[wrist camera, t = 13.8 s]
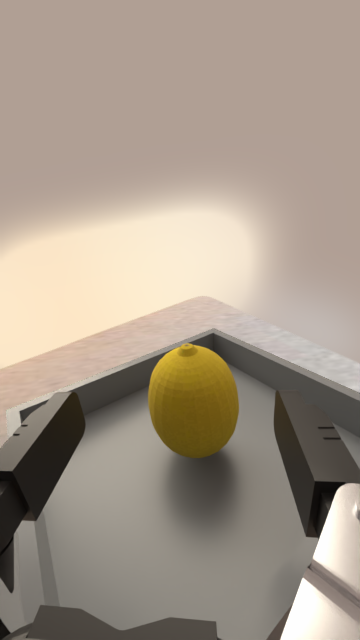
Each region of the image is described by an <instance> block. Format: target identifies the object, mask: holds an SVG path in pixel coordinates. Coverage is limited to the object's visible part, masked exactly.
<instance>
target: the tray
mask: <svg viewBox="0 0 360 640" xmlns="http://www.w3.org/2000/svg"><path fill="white" fill-rule="evenodd" d="M186 343H189V344H192V345H196V346H201V347H205V348H207V349H209V350H211V351H213V352H215V353H216V354H217V355H219V356H220V357H221V358H222V359H223V360H224V361H225V362H226V364H227V365H228V367H229V369H230V371H231V373H232V375H233V377H234V380H235V383H236V387H237V392H238V400H239V415H238V420H237V424H236V428H235V431H234V433H233V435H232V436H231V438H230V440H229V441H228V443H227V444H226V445H225V446H224V447H223V448H222V449H220V450H219V451H218V452H216V453H214V454H212V455H210V456H207V457H203V458H189V457H184V456H181V455H179V454H177V453H175V452H173V451H172V450H171V449H169V448H168V447H167V446H166V445H165V444H164V443H163V442H162V440H161V439H160V437H159V436H158V434H157V432H156V431H155V429H154V427H153V424H152V421H151V416H150V411H149V405H148V391H149V384H150V379H151V375H152V372H153V370H154V368H155V367H156V365H157V363H158V362H159V361H160V359H162V358H163V357H164V356H165V355H166V354H167V353H168V352H170V351H172V350H173V349H175V348H178V347H181V346H182V345H183V344H186ZM276 390H298V391H299V392H300V394H301V396H302V398H303V400H304V402H305V404H315V405H317V406H318V407H319V408H320V409H321V410H322V411H324V412H325V413H326V414H327V415H328V417H329V418H330V420H331V422H332V423H333V425H334V427H335V430H337V432H338V433H339V435H340V437H341V440H343V442H344V443H345V445H346V447H347V448H348V450H349V452H350V454H351V455H352V457H353V459H354V460H355V462H356V464H357V465H358V467H359V469H360V393H359V392H356V391H354V390H352V389H350V388H347V387H345V386H343V385H340V384H338V383H336V382H334V381H331V380H329V379H327V378H325V377H322V376H320V375H318V374H316V373H313V372H311V371H309V370H307V369H304V368H302V367H300V366H298V365H295V364H293V363H291V362H289V361H286V360H284V359H282V358H280V357H277V356H275V355H273V354H271V353H268V352H266V351H264V350H262V349H259V348H257V347H255V346H253V345H250V344H248V343H246V342H244V341H241V340H239V339H237V338H235V337H232V336H230V335H228V334H225V333H223V332H221V331H219V330H216V329H214V328H213V329H211V330H208V331H206V332H203V333H201V334H198V335H196V336H193V337H191V338H188V339H185V340H183V341H180V342H178V343H175V344H173V345H170V346H168V347H165V348H163V349H160V350H158V351H155V352H152V353H150V354H147V355H145V356H142V357H140V358H137V359H135V360H132V361H130V362H127V363H125V364H122V365H119V366H117V367H114V368H112V369H109V370H107V371H104V372H102V373H99V374H97V375H94V376H91V377H89V378H86V379H84V380H81V381H79V382H76V383H74V384H71V385H69V386H66V387H64V388H61V389H58V390H56V391H53V392H51V393H48V394H46V395H43V396H41V397H38V398H36V399H33V400H30V401H28V402H25V403H23V404H20V405H18V406H15V407H13V408H10V409H8V410H6V419H7V436H8V439H9V438H10V437H11V436H13V433H14V432H15V431H16V430H17V429H18V427H21V424H22V423H23V422H24V420H25V419H26V418H27V417H28V416H29V415H30V414H31V413H32V412H34V411H35V410H36V409H38V408H39V407H41V406H42V405H45V404H46V403H47V402H48V400H49V399H50V398H51V397H52V396H53V395H54V394H55V393H56V392H76V393H77V395H78V397H79V401H80V404H81V408H82V411H83V414H84V418H85V423H86V426H85V432H84V435H83V437H82V439H81V441H80V443H79V445H78V446H77V448H76V450H75V452H74V454H73V455H72V457H71V459H70V461H69V463H68V465H67V466H66V468H65V470H64V472H63V474H62V475H61V477H60V479H59V481H58V483H57V485H56V486H55V488H54V490H53V492H52V494H51V495H50V497H49V499H48V501H47V503H46V505H45V506H44V508H43V510H42V512H41V514H40V516H39V517H38V519H37V521H22V522H21V523H20V525H19V527H18V528H17V532H18V535H19V569H20V599H21V606H22V610H23V613H24V617H25V621H26V625H27V624H30V623H32V622H33V621H34V619H35V616H36V614H37V612H38V609H39V607H40V605H48V606H58V607H69V608H80V609H82V610H84V611H86V612H88V613H89V614H91V615H93V616H95V617H96V618H98V619H100V620H102V621H104V622H105V623H107V624H109V625H111V626H112V627H114V628H116V629H118V630H127V629H131V628H134V627H138V626H141V625H145V624H148V623H152V622H155V621H158V620H162V619H165V618H169V617H174V618H185V619H195V620H206V621H216V625H217V637H218V638H220V639H222V640H280V639H281V636H282V633H283V631H284V628H285V625H286V622H287V620H288V617H289V614H290V611H291V609H292V606H293V603H294V600H295V598H296V595H297V592H298V589H299V587H300V584H301V581H302V578H303V576H304V573H305V571H306V569H307V567H308V565H310V563H311V561H312V559H313V556H314V553H315V550H316V547H317V545H318V542H319V540H318V538H312V537H306V536H305V533H304V529H303V526H302V523H301V520H300V516H299V513H298V510H297V506H296V503H295V500H294V497H293V493H292V490H291V487H290V484H289V480H288V477H287V474H286V471H285V467H284V464H283V461H282V458H281V454H280V451H279V448H278V444H277V441H276V438H275V433H274V407H275V393H276Z"/></svg>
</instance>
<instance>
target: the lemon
mask: <svg viewBox="0 0 360 640" xmlns="http://www.w3.org/2000/svg"><path fill="white" fill-rule="evenodd" d="M148 405H149V411H150V416H151V421H152V424H153V427H154V429H155V431H156V432H157V434H158V436H159V437H160V439H161V440H162V442H163V443H164V444H165V445H166V446H167V447H168V448H169V449H171V450H172V451H173V452H175V453H177V454H179V455H181V456H184V457H189V458H203V457H207V456H210V455H212V454H214V453H216V452H218V451H219V450H220V449H222V448H223V447H224V446H225V445H226V444H227V443H228V441H229V440H230V438H231V436H232V435H233V433H234V431H235V428H236V424H237V420H238V415H239V400H238V392H237V387H236V383H235V380H234V377H233V375H232V373H231V371H230V369H229V367H228V365H227V364H226V362H225V361H224V360H223V359H222V358H221V357H220V356H219V355H217V354H216V353H215V352H213V351H211V350H209V349H207V348H205V347H201V346H196V345H192V344H189V343H186V344H183V345H182V346H181V347H178V348H175V349H173V350H172V351H170V352H168V353H167V354H166V355H165V356H164V357H163V358H162V359H160V361H159V362H158V363H157V365H156V367H155V368H154V370H153V372H152V375H151V379H150V384H149V391H148Z"/></svg>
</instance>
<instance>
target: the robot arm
mask: <svg viewBox="0 0 360 640" xmlns="http://www.w3.org/2000/svg"><path fill="white" fill-rule="evenodd" d="M85 426H86V423H85V418H84V414H83V411H82V408H81V404H80V401H79V397H78V395H77V393H76V392H56V393H55V394H54V395H53V396H52V397H51V398H50V399H49V400H48V402H47V403H46V404H45V405H42V406H41V407H39V408H38V409H36V410H35V411H34V412H32V413H31V414H30V415H29V416H28V417H27V418H26V419H25V420H24V422H23V423H22V424H21V427H18V429H17V430H16V431H15V432H14V433H13V436H11V437H10V438H9V439H8V440H7V441H6V442H5V443H4V445H3V446H2V447H1V448H0V640H222V639H220V638H218V637H217V625H216V621H206V620H195V619H185V618H174V617H169V618H165V619H162V620H158V621H155V622H152V623H148V624H145V625H141V626H138V627H134V628H131V629H127V630H118V629H116V628H114V627H112V626H111V625H109V624H107V623H105V622H104V621H102V620H100V619H98V618H96V617H95V616H93V615H91V614H89V613H88V612H86V611H84V610H82V609H80V608H69V607H58V606H48V605H40V607H39V609H38V612H37V614H36V616H35V619H34V621H33V622H32V623H30V624H27V625H26V621H25V617H24V613H23V610H22V606H21V599H20V569H19V535H18V532H17V528H18V527H19V525H20V523H21V522H22V521H37V519H38V517H39V516H40V514H41V512H42V510H43V508H44V506H45V505H46V503H47V501H48V499H49V497H50V495H51V494H52V492H53V490H54V488H55V486H56V485H57V483H58V481H59V479H60V477H61V475H62V474H63V472H64V470H65V468H66V466H67V465H68V463H69V461H70V459H71V457H72V455H73V454H74V452H75V450H76V448H77V446H78V445H79V443H80V441H81V439H82V437H83V435H84V432H85ZM274 433H275V438H276V441H277V444H278V448H279V451H280V454H281V458H282V461H283V464H284V467H285V471H286V474H287V477H288V480H289V484H290V487H291V490H292V493H293V497H294V500H295V503H296V506H297V510H298V513H299V516H300V520H301V523H302V526H303V529H304V533H305V536H306V537H312V538H318V540H319V542H318V545H317V547H316V550H315V553H314V556H313V559H312V561H311V563H310V565H308V567H307V569H306V571H305V573H304V576H303V578H302V581H301V584H300V587H299V589H298V592H297V595H296V598H295V600H294V603H293V606H292V609H291V611H290V614H289V617H288V620H287V622H286V625H285V628H284V631H283V633H282V636H281V639H280V640H360V469H359V467H358V465H357V464H356V462H355V460H354V459H353V457H352V455H351V454H350V452H349V450H348V448H347V447H346V445H345V443H344V442H343V440H341V437H340V435H339V433H338V432H337V430H335V427H334V425H333V423H332V422H331V420H330V418H329V417H328V415H327V414H326V413H325V412H324V411H322V410H321V409H320V408H319V407H318V406H317V405H315V404H305V402H304V400H303V398H302V396H301V394H300V392H299V391H298V390H276V393H275V407H274Z"/></svg>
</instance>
